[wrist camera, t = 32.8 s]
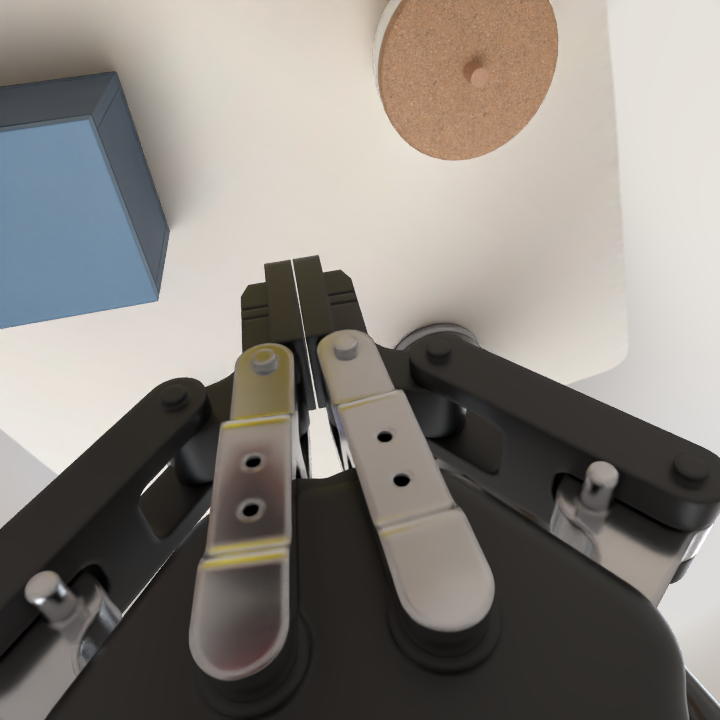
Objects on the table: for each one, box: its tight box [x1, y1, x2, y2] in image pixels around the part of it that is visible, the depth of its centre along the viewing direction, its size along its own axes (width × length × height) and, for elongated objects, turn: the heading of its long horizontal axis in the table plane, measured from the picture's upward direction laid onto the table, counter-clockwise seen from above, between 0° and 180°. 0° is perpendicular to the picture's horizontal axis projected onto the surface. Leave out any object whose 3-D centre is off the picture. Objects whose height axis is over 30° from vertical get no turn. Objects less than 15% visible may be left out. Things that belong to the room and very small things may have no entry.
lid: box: [0, 115, 159, 329], centre depth 33 cm, size 14×12×1 cm
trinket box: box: [373, 0, 558, 160], centre depth 36 cm, size 11×11×9 cm
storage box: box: [0, 72, 170, 293], centre depth 37 cm, size 14×12×9 cm
